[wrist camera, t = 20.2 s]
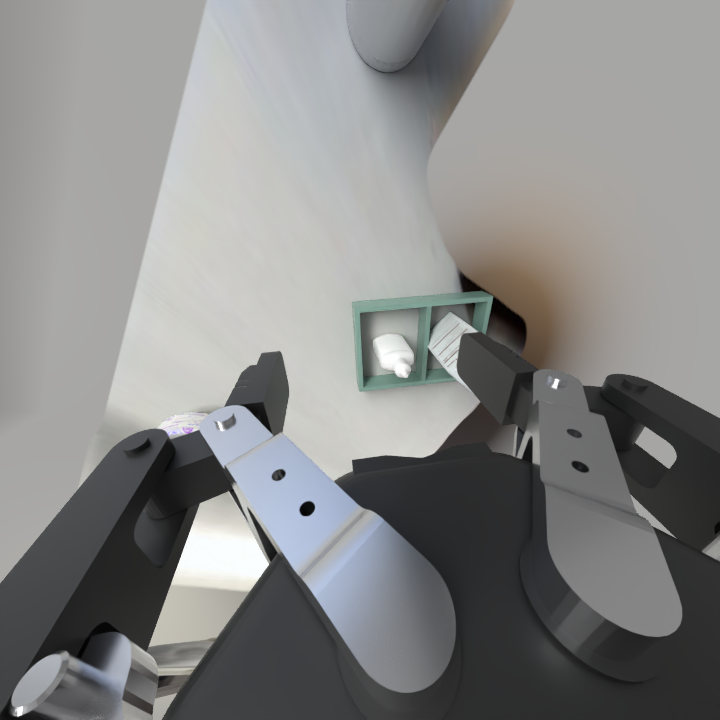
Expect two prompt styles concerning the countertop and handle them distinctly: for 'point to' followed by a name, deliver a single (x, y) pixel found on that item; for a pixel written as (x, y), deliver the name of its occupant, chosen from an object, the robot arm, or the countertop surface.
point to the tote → (425, 308)
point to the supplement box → (449, 342)
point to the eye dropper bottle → (394, 354)
